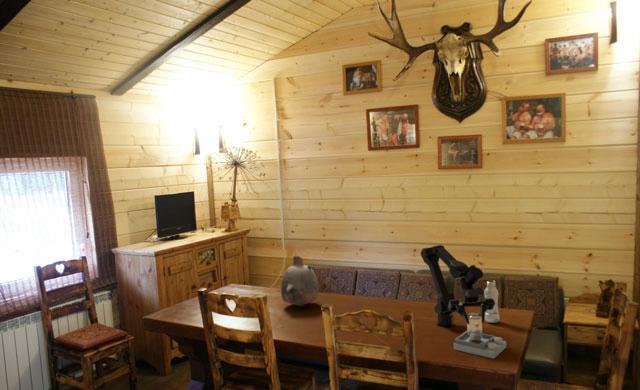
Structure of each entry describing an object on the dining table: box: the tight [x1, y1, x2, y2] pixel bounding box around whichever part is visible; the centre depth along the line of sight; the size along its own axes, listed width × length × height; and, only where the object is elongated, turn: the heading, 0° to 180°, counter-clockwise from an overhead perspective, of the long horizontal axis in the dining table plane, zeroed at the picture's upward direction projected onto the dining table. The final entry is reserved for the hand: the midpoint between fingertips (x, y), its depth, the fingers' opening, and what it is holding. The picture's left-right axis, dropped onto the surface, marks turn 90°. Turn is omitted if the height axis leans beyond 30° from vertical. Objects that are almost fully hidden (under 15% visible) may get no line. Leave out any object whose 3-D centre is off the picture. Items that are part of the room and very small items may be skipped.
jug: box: [280, 253, 320, 307], centre depth 270 cm, size 24×21×30 cm
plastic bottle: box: [483, 280, 500, 324], centre depth 230 cm, size 6×7×20 cm
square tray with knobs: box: [453, 330, 507, 359], centre depth 201 cm, size 17×14×4 cm
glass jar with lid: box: [466, 312, 483, 340], centre depth 200 cm, size 8×6×10 cm
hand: (475, 323), depth 200 cm, fingers closed on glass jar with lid, 6 cm apart
